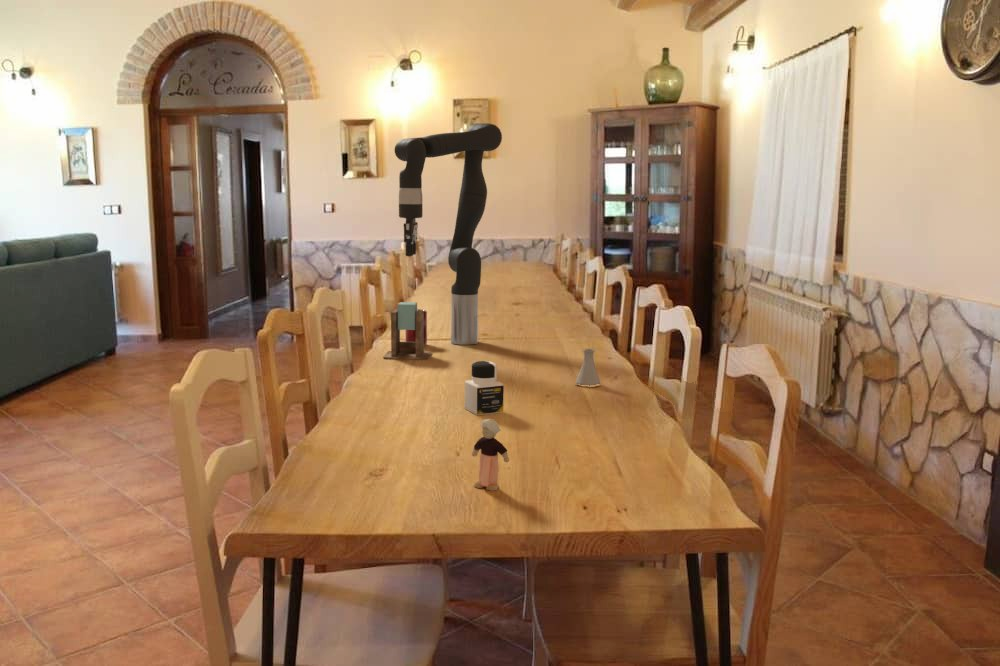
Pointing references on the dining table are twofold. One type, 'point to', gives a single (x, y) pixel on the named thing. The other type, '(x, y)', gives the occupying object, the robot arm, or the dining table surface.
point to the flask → (588, 370)
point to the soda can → (412, 333)
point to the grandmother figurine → (489, 455)
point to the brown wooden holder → (407, 348)
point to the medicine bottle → (484, 390)
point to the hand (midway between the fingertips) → (410, 255)
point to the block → (407, 315)
